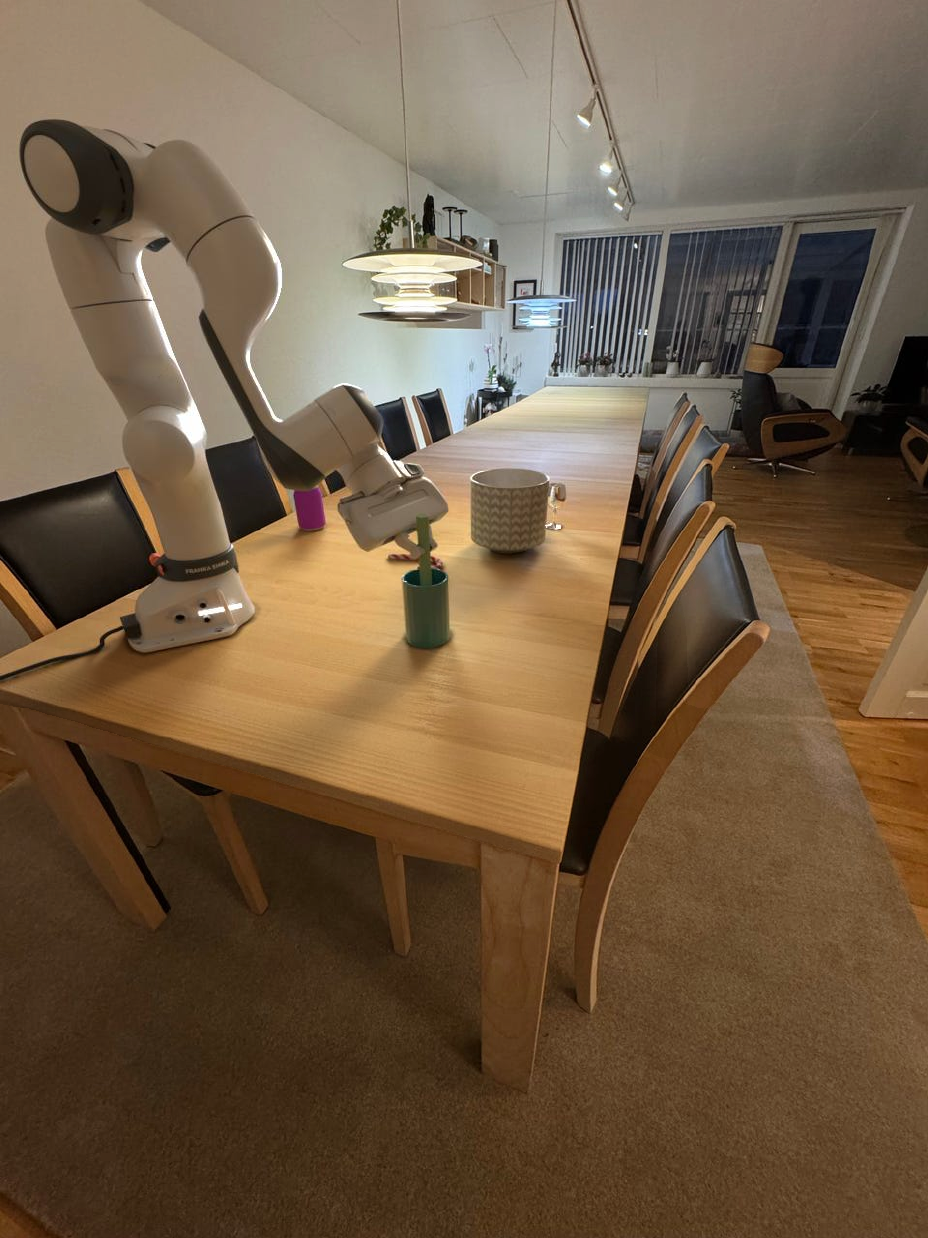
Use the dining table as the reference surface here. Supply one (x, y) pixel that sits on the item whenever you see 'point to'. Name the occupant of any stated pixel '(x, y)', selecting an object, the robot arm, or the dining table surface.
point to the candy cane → (410, 557)
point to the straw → (425, 543)
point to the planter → (509, 509)
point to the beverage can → (309, 509)
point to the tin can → (426, 609)
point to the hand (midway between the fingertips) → (427, 552)
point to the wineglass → (556, 500)
